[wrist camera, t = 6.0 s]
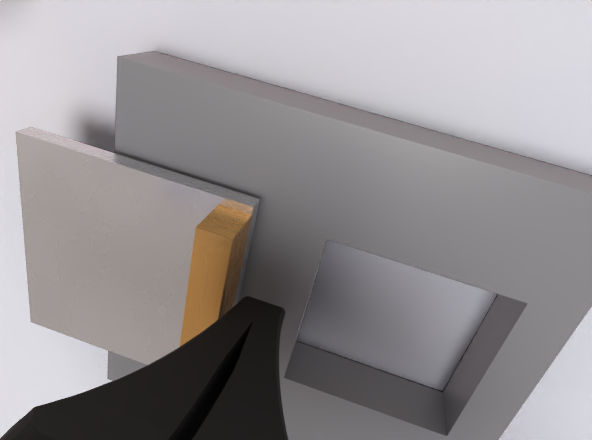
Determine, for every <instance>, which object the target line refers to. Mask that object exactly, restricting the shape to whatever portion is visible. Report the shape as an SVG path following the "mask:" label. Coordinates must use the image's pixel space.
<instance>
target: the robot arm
mask: <svg viewBox="0 0 592 440" xmlns="http://www.w3.org/2000/svg"><path fill="white" fill-rule="evenodd" d="M285 313H286V312H285V310H284V308H282V307H279V306H276V305H273V304H270V303H267V302H264V301H261V300H259V299H256V298H253V297H250V296H246V297H243V298H242V299H241V300H240V301H239V302H238V303H237V304H236V305H235V306H234V307H233V308H232V309H230V310H229V311H228V312H227V313H226V314H224V315H223V316H222V317H221V318H220V319H218V320H217V321H216V322H214V323H213V324H212V325H210V326H209V327H208V328H206V329H205V330H204V331H202V332H201V333H200V334H198V335H197V336H195V337H194V338H192V339H191V340H189V341H188V342H186V343H185V344H183V345H182V346H180V347H179V348H177V349H175V350H174V351H172V352H170V353H169V354H167V355H165V356H164V357H162V358H160V359H158V360H156V361H154V362H153V363H151V364H149V365H147V366H145V367H143V368H141V369H139V370H136V371H134V372H132V373H130V374H128V375H126V376H124V377H121V378H119V379H117V380H114V381H112V382H109V383H107V384H104V385H102V386H99V387H96V388H94V389H91V390H89V391H86V392H83V393H80V394H77V395H74V396H71V397H68V398H64V399H61V400H58V401H54V402H51V403H48V404H44V405H40V406H37V407H34V408H33V409H32V410H31V411H30V412H29V413H27V414H26V415H25V416H24V417H23V418H21V419H20V420H19V421H18V422H17V423H16V424H15V425H14V426H12V427H11V428H10V429H9V430H8V431H7V432H6V433H5V434H4V435H3V436H2V437H1V438H0V440H288V436H287V431H286V426H285V420H284V414H283V407H282V400H281V390H280V375H279V344H280V333H281V328H282V324H283V320H284V317H285Z"/></svg>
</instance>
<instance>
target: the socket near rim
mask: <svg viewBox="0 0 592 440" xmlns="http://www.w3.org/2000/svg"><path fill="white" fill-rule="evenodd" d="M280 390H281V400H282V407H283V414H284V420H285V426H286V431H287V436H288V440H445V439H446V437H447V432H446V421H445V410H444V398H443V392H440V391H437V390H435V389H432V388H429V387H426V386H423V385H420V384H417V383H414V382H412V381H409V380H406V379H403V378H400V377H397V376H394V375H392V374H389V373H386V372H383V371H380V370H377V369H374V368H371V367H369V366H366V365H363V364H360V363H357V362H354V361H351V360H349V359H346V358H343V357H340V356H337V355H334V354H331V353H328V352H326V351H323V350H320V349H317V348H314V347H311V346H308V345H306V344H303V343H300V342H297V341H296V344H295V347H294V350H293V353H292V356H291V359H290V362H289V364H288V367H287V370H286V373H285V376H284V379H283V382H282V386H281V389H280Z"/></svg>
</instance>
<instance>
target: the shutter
mask: <svg viewBox="0 0 592 440" xmlns="http://www.w3.org/2000/svg"><path fill="white" fill-rule="evenodd" d="M16 143H17V155H18V168H19V180H20V193H21V205H22V217H23V230H24V242H25V255H26V267H27V280H28V292H29V305H30V317H31V322H32V323H35V324H38V325H40V326H43V327H46V328H49V329H51V330H54V331H57V332H59V333H62V334H65V335H68V336H70V337H73V338H76V339H78V340H81V341H84V342H87V343H89V344H92V345H95V346H97V347H100V348H103V349H106V350H108V351H111V352H114V353H116V354H119V355H122V356H124V357H127V358H130V359H133V360H135V361H138V362H141V363H143V364H146V365H149V364H151V363H153V362H154V361H156V360H158V359H160V358H162V357H164V356H165V355H167V354H169V353H170V352H172V351H174V350H175V349H177V348H179V347H180V346H182V345H183V344H185V343H186V342H188V341H189V340H191V339H192V338H194V337H195V336H197V335H198V334H200V333H201V332H202V331H204V330H205V329H206V328H208V327H209V326H210V325H212V324H213V323H214V322H216V321H217V320H218V319H220V318H221V317H222V316H223V315H224V314H226V313H227V312H228V311H229V310H230V309H232V308H233V307H234V306H235V305H236V304H237V303H238V302H239V298H240V293H241V288H242V283H243V278H244V274H245V269H246V264H247V259H248V254H249V250H250V245H251V240H252V235H253V230H254V226H255V221H256V216H257V211H258V206H259V202H260V199H258V198H255V197H252V196H248V195H245V194H242V193H239V192H236V191H233V190H229V189H226V188H223V187H220V186H217V185H214V184H210V183H207V182H204V181H201V180H198V179H195V178H191V177H188V176H185V175H182V174H179V173H176V172H172V171H169V170H166V169H163V168H160V167H157V166H153V165H150V164H147V163H144V162H141V161H138V160H134V159H131V158H128V157H125V156H122V155H118V154H115V153H112V152H109V151H106V150H103V149H99V148H96V147H93V146H90V145H87V144H84V143H80V142H77V141H74V140H71V139H68V138H65V137H61V136H58V135H55V134H52V133H49V132H46V131H42V130H39V129H36V128H33V127H29V128H26V129H22V130H19V131H16Z"/></svg>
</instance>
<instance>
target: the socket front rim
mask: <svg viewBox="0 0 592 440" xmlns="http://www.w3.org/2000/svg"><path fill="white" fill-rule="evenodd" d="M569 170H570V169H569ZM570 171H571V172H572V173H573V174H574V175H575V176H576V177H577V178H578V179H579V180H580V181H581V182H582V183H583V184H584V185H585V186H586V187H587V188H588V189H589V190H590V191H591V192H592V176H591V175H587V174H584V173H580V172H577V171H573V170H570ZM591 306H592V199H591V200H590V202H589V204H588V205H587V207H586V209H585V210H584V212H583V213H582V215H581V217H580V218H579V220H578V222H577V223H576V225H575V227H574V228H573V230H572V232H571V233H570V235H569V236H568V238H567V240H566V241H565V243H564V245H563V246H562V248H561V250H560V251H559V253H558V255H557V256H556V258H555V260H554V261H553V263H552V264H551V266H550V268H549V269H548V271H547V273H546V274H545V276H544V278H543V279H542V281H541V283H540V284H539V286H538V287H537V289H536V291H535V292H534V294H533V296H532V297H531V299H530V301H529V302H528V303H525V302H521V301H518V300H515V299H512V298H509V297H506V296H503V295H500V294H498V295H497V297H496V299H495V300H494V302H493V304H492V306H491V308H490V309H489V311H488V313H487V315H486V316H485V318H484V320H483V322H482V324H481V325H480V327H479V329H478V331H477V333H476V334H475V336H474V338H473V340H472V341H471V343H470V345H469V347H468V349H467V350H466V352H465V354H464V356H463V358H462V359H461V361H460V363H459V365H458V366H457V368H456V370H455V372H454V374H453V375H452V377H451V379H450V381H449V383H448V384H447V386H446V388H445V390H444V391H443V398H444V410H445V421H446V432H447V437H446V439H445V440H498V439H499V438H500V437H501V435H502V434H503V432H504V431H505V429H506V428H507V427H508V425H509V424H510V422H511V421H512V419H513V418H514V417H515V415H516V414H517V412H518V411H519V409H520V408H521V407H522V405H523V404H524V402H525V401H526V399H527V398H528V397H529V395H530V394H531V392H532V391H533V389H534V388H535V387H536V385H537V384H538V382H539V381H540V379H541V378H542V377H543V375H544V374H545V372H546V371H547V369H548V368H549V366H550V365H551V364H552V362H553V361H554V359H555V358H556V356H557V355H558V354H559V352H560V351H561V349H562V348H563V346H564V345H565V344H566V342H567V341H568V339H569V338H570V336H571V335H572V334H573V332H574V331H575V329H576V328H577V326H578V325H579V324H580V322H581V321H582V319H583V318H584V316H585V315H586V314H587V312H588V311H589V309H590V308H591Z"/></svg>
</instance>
